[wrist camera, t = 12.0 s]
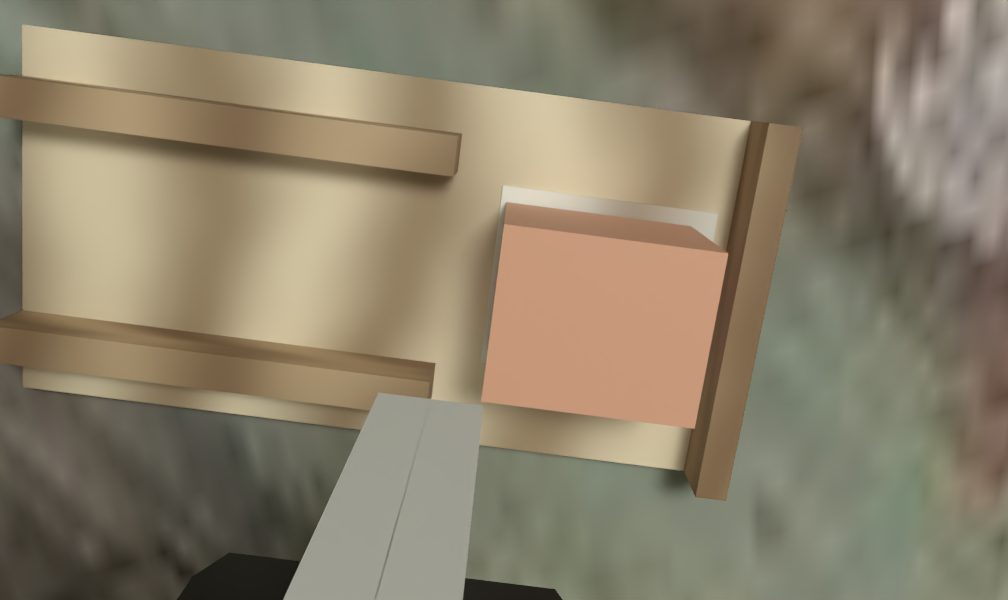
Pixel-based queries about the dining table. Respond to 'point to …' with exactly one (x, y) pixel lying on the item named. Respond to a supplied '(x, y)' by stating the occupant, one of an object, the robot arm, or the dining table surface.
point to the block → (602, 315)
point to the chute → (350, 235)
